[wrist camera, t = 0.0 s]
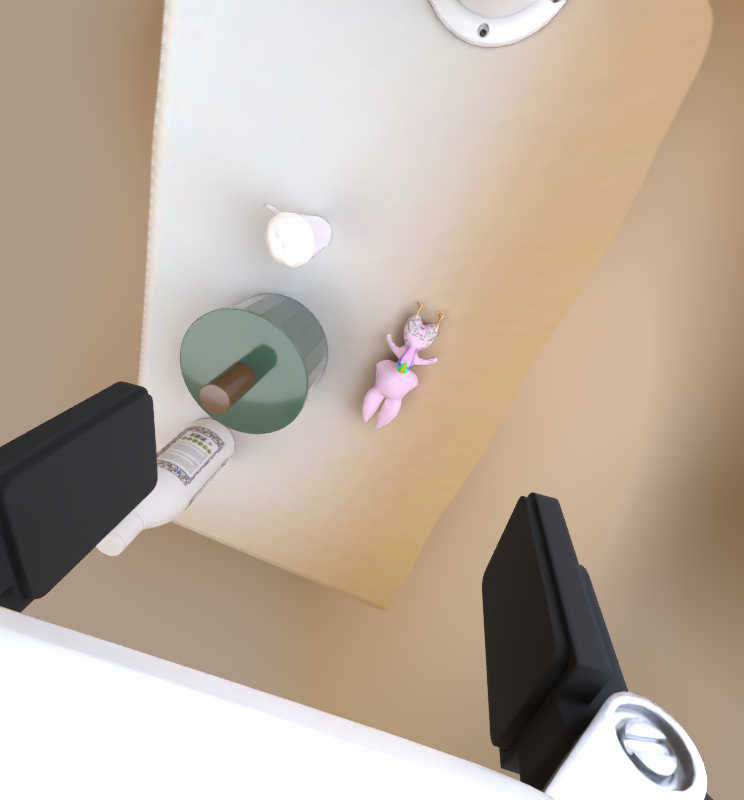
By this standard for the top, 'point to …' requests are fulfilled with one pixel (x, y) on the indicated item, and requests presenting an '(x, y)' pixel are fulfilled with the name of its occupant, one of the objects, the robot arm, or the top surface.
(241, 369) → the pot lid
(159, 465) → the bath foam
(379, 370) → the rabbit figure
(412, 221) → the top surface
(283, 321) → the pot
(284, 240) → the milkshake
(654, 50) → the top surface
